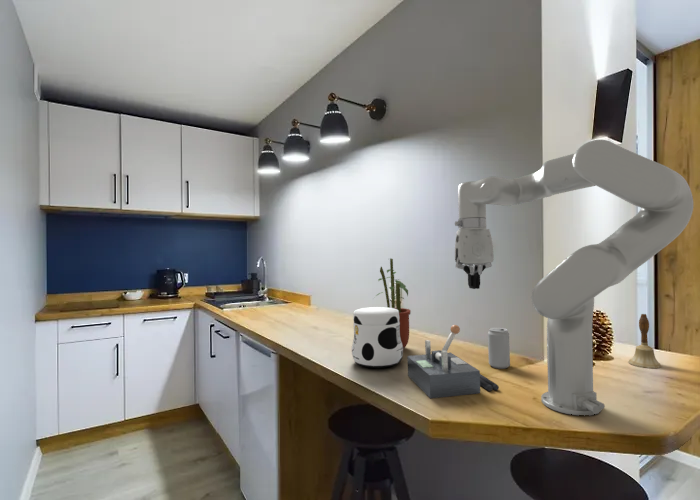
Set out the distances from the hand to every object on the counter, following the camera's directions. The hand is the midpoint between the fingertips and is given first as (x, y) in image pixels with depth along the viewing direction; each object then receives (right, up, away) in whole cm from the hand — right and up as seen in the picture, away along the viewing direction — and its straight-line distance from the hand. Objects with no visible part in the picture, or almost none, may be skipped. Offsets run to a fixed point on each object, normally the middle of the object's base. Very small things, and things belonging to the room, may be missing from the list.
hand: (474, 288), depth 111 cm
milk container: (-27, -28, +19) cm, 43 cm away
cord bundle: (+2, -27, 0) cm, 27 cm away
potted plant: (-20, -27, +38) cm, 51 cm away
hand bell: (+57, -25, +10) cm, 63 cm away
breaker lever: (-10, -20, -2) cm, 22 cm away
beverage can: (+12, -27, +12) cm, 32 cm away
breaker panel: (-10, -27, -2) cm, 29 cm away
